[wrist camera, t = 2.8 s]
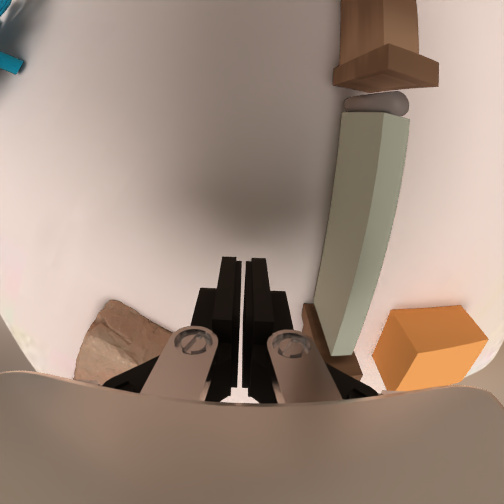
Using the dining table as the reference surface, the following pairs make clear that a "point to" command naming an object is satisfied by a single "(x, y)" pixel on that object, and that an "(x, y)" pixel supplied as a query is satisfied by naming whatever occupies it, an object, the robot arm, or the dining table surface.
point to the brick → (118, 343)
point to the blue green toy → (4, 61)
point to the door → (360, 213)
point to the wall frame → (374, 80)
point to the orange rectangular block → (427, 347)
